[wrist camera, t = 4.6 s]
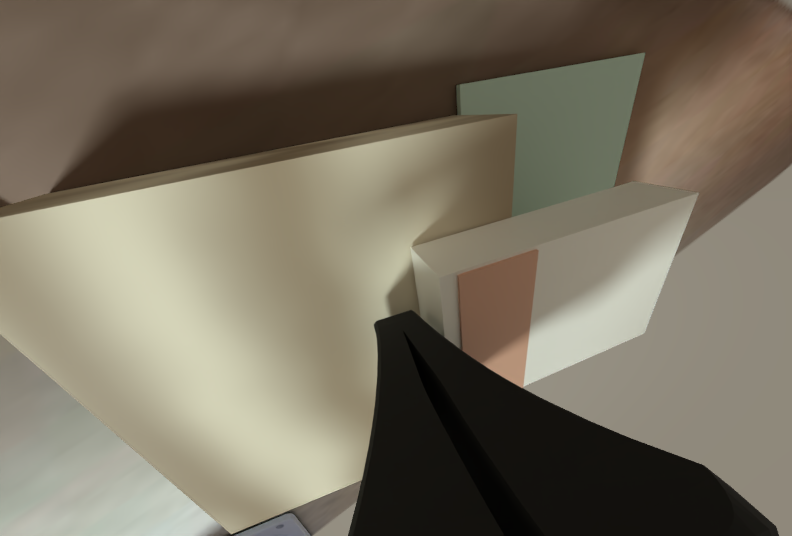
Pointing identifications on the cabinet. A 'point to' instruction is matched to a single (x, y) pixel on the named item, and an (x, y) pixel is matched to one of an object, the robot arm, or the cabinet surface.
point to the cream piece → (245, 299)
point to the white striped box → (553, 279)
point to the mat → (561, 126)
